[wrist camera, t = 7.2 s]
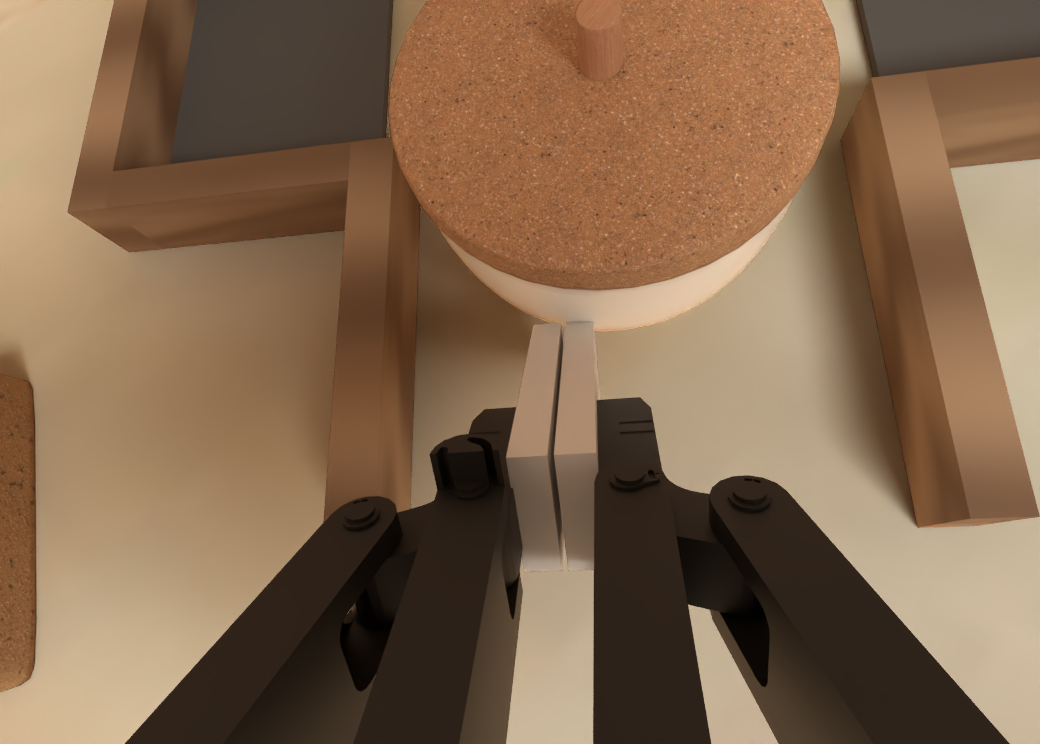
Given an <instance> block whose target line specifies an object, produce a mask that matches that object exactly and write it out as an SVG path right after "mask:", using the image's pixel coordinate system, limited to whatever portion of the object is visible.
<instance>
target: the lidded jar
mask: <svg viewBox="0 0 1040 744" xmlns="http://www.w3.org/2000/svg"><path fill="white" fill-rule="evenodd" d="M839 89H840V56H839V52H838V47H837V42H836V37H835V33H834V28H833V26H832V23H831V21H830V19H829V16H828V14H827V12H826V9H825V7H824V5H823V2H822V0H428V1H427V3H426V4H425V5H424V6H423V8H422V9H421V11H420V13H419V14H418V16H417V17H416V19H415V21H414V22H413V24H412V25H411V27H410V29H409V30H408V32H407V35H406V37H405V40H404V42H403V45H402V47H401V50H400V52H399V55H398V57H397V59H396V63H395V67H394V71H393V76H392V80H391V84H390V91H389V111H388V117H389V125H390V132H391V140H392V144H393V147H394V150H395V153H396V156H397V159H398V162H399V165H400V168H401V171H402V172H403V174H404V176H405V178H406V180H407V182H408V183H409V185H410V187H411V189H412V191H413V192H414V194H415V196H416V198H417V199H418V201H419V203H420V205H421V206H422V208H423V209H424V210H425V212H426V213H427V214H428V215H429V216H430V218H431V219H432V220H433V221H434V222H435V224H436V225H437V226H438V227H439V229H440V231H441V233H442V234H443V236H444V237H445V239H446V240H447V242H448V243H449V245H450V247H451V248H452V249H453V250H454V251H455V253H456V254H457V255H458V256H459V257H460V259H461V260H462V261H463V262H464V263H465V264H466V266H467V267H468V268H469V269H470V270H471V271H472V272H473V273H474V275H475V276H476V277H477V278H478V279H479V280H480V281H482V282H483V283H484V284H485V285H486V286H488V287H489V288H490V289H491V290H492V291H493V292H495V293H496V294H497V295H498V296H500V297H501V298H503V299H504V300H505V301H507V302H508V303H510V304H512V305H513V306H515V307H517V308H519V309H520V310H522V311H524V312H525V313H527V314H529V315H531V316H534V317H536V318H539V319H541V320H544V321H547V322H549V323H561V326H565V323H566V322H594V331H615V330H629V329H635V328H639V327H644V326H648V325H653V324H657V323H660V322H663V321H665V320H668V319H671V318H673V317H676V316H679V315H681V314H684V313H685V312H687V311H689V310H691V309H693V308H694V307H696V306H698V305H700V304H701V303H703V302H705V301H707V300H708V299H709V298H711V297H712V296H713V295H714V294H716V293H717V292H718V291H720V290H721V289H722V288H723V287H725V286H726V285H727V284H728V283H729V282H731V281H732V280H733V279H734V278H735V277H736V276H738V275H739V274H740V272H741V271H742V270H743V269H744V268H745V267H746V266H747V265H748V264H749V263H750V262H751V261H752V259H753V258H754V257H755V256H756V255H757V254H758V253H759V251H760V250H761V249H762V247H763V246H764V245H765V243H766V242H767V241H768V239H769V238H770V236H771V235H772V233H773V232H774V230H775V229H776V227H777V226H778V224H779V222H780V221H781V219H782V218H783V216H784V215H785V213H786V211H787V209H788V207H789V205H790V203H791V201H792V200H793V198H794V196H795V194H796V192H797V191H798V189H799V188H800V186H801V185H802V183H803V181H804V180H805V178H806V177H807V175H808V174H809V172H810V171H811V169H812V168H813V166H814V164H815V162H816V160H817V157H818V155H819V153H820V150H821V148H822V145H823V143H824V141H825V138H826V136H827V133H828V131H829V129H830V126H831V124H832V121H833V119H834V114H835V109H836V104H837V99H838V94H839Z"/></svg>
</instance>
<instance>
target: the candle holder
mask: <svg viewBox="0 0 1040 744" xmlns="http://www.w3.org/2000/svg"><path fill="white" fill-rule="evenodd" d="M35 629H36V572H35V432H34V410H33V394H32V389H31V386H30V384H29V382H26V381H22V380H19V379H16V378H13V377H9V376H6V375H3V374H0V692H2V691H5V690H8V689H11V688H14V687H17V686H20V685H22V684H23V683H24V682H26V681H27V680H28V679H30V677H31V673H32V670H33V667H34V652H35Z"/></svg>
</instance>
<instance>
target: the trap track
mask: <svg viewBox="0 0 1040 744" xmlns="http://www.w3.org/2000/svg"><path fill="white" fill-rule="evenodd" d="M856 2H857V7H858V11H859V15H860V20H861V24H862V29H863V33H864V37H865V42H866V46H867V51H868V55H869V59H870V64H871V68H872V73H873V78H871V79H870V81H869V83H868V85H867V87H866V89H865V91H864V93H863V95H862V98H861V100H860V102H859V104H858V106H857V108H856V110H855V112H854V114H853V116H852V118H851V120H850V122H849V124H848V126H847V128H846V130H845V132H844V134H843V136H842V139H841V141H840V142H841V147H842V152H843V157H844V162H845V167H846V172H847V177H848V182H849V187H850V192H851V197H852V202H853V206H854V211H855V216H856V221H857V226H858V231H859V236H860V241H861V246H862V251H863V256H864V261H865V266H866V271H867V276H868V281H869V286H870V291H871V296H872V301H873V306H874V311H875V316H876V321H877V326H878V331H879V336H880V341H881V346H882V351H883V356H884V361H885V366H886V371H887V376H888V381H889V386H890V391H891V396H892V401H893V406H894V411H895V416H896V421H897V426H898V431H899V436H900V441H901V446H902V451H903V456H904V461H905V466H906V471H907V476H908V481H909V486H910V491H911V496H912V501H913V506H914V511H915V516H916V521H917V526H918V527H953V526H978V525H985V524H992V523H999V522H1006V521H1013V520H1020V519H1027V518H1034V517H1040V516H1039V512H1038V508H1037V504H1036V501H1035V497H1034V493H1033V489H1032V485H1031V481H1030V477H1029V473H1028V469H1027V466H1026V462H1025V458H1024V454H1023V450H1022V446H1021V442H1020V438H1019V435H1018V431H1017V427H1016V423H1015V419H1014V415H1013V411H1012V407H1011V404H1010V400H1009V396H1008V392H1007V388H1006V384H1005V380H1004V376H1003V372H1002V369H1001V365H1000V361H999V357H998V353H997V349H996V345H995V341H994V338H993V334H992V330H991V326H990V322H989V318H988V314H987V310H986V306H985V303H984V299H983V295H982V291H981V287H980V283H979V279H978V275H977V272H976V268H975V264H974V260H973V256H972V252H971V248H970V244H969V241H968V237H967V233H966V229H965V225H964V221H963V217H962V213H961V209H960V206H959V202H958V198H957V194H956V190H955V186H954V182H953V178H952V175H951V171H950V168H954V167H963V166H973V165H983V164H993V163H1002V162H1012V161H1022V160H1032V159H1040V0H856ZM392 8H393V0H114V4H113V9H112V13H111V18H110V22H109V27H108V31H107V36H106V40H105V45H104V49H103V54H102V58H101V63H100V67H99V72H98V76H97V81H96V85H95V90H94V95H93V99H92V104H91V108H90V113H89V117H88V122H87V126H86V131H85V135H84V140H83V144H82V149H81V153H80V158H79V162H78V167H77V171H76V176H75V180H74V185H73V189H72V194H71V198H70V203H69V207H68V213H69V214H71V215H72V216H74V217H75V218H77V219H79V220H80V221H82V222H83V223H85V224H86V225H88V226H89V227H91V228H92V229H94V230H96V231H97V232H99V233H100V234H102V235H103V236H105V237H106V238H108V239H109V240H111V241H113V242H114V243H116V244H117V245H119V246H120V247H122V248H123V249H125V250H126V251H128V252H136V251H145V250H155V249H165V248H175V247H184V246H194V245H204V244H214V243H223V242H233V241H243V240H253V239H262V238H272V237H282V236H292V235H301V234H311V233H321V232H330V231H340V230H345V233H344V247H343V260H342V274H341V288H340V302H339V316H338V330H337V344H336V358H335V371H334V385H333V399H332V413H331V427H330V441H329V455H328V469H327V482H326V496H325V510H324V522H325V521H326V520H327V519H328V517H329V516H330V515H331V514H332V513H333V512H335V511H336V510H337V509H338V508H339V507H341V506H342V505H344V504H346V503H348V502H350V501H352V500H355V499H358V498H362V497H367V496H381V497H384V498H388V499H390V500H391V501H392V502H393V503H394V504H395V505H396V508H397V512H401V511H405V510H409V509H410V502H411V471H412V440H413V409H414V378H415V348H416V317H417V286H418V255H419V224H420V203H419V201H418V199H417V198H416V196H415V194H414V192H413V191H412V189H411V187H410V185H409V183H408V182H407V180H406V178H405V176H404V174H403V172H402V171H401V168H400V165H399V162H398V159H397V156H396V153H395V150H394V147H393V144H392V140H391V137H387V138H386V122H387V103H388V84H389V65H390V46H391V27H392Z"/></svg>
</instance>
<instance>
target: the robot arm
mask: <svg viewBox="0 0 1040 744" xmlns="http://www.w3.org/2000/svg"><path fill="white" fill-rule="evenodd" d="M430 458H431V463H432V467H433V472H434V476H435V481H436V485H437V490H438V491H437V494H436V497H435V500H434V501H432V502H430V503H428V504H426V505H423V506H420V507H417V508H413V509H409V510H405V511H401V512H397V508H396V505H395V504H394V503H393V502H392V501H391V500H390V499H388V498H384V497H381V496H367V497H362V498H358V499H355V500H352V501H350V502H348V503H346V504H344V505H342V506H341V507H339V508H338V509H337V510H336V511H335V512H333V513H332V514H331V515H330V516H329V517H328V519H327V520H326V521H325V522H324V523H323V524H322V525H321V526H320V527H319V529H318V530H317V531H316V532H315V533H314V534H313V535H312V536H311V537H310V539H309V540H308V541H307V542H306V543H305V544H304V545H303V546H302V547H301V549H300V550H299V551H298V552H297V553H296V554H295V555H294V556H293V557H292V559H291V560H290V561H289V562H288V563H287V564H286V565H285V566H284V567H283V569H282V570H281V571H280V572H279V573H278V574H277V575H276V576H275V577H274V579H273V580H272V581H271V582H270V583H269V584H268V585H267V586H266V587H265V589H264V590H263V591H262V592H261V593H260V594H259V595H258V596H257V597H256V599H255V600H254V601H253V602H252V603H251V604H250V605H249V606H248V607H247V609H246V610H245V611H244V612H243V613H242V614H241V615H240V616H239V617H238V619H237V620H236V621H235V622H234V623H233V624H232V625H231V626H230V627H229V629H228V630H227V631H226V632H225V633H224V634H223V635H222V636H221V637H220V639H219V640H218V641H217V642H216V643H215V644H214V645H213V646H212V647H211V649H210V650H209V651H208V652H207V653H206V654H205V655H204V656H203V657H202V659H201V660H200V661H199V662H198V663H197V664H196V665H195V666H194V667H193V669H192V670H191V671H190V672H189V673H188V674H187V675H186V676H185V677H184V679H183V680H182V681H181V682H180V683H179V684H178V685H177V686H176V687H175V689H174V690H173V691H172V692H171V693H170V694H169V695H168V696H167V697H166V699H165V700H164V701H163V702H162V703H161V704H160V705H159V706H158V707H157V709H156V710H155V711H154V712H153V713H152V714H151V715H150V716H149V717H148V719H147V720H146V721H145V722H144V723H143V724H142V725H141V726H140V727H139V729H138V730H137V731H136V732H135V733H134V734H133V735H132V736H131V737H130V739H129V740H128V741H127V742H126V743H125V744H506V738H507V729H508V720H509V711H510V702H511V693H512V684H513V675H514V666H515V657H516V648H517V639H518V630H519V620H520V611H521V602H522V593H523V590H522V584H521V578H520V572H519V571H520V564H521V556H522V559H523V565H524V572H543V571H562V565H563V546H564V540H565V547H566V555H567V563H568V571H575V570H594V706H593V744H711V739H710V734H709V728H708V722H707V716H706V710H705V704H704V698H703V692H702V686H701V680H700V674H699V668H698V662H697V656H696V650H695V644H694V638H693V632H692V626H691V620H690V615H689V609H688V604H689V605H693V606H697V607H701V608H706V609H710V612H711V616H712V619H713V621H714V623H715V625H716V627H717V629H718V631H719V633H720V634H721V636H722V638H723V640H724V642H725V644H726V646H727V648H728V649H729V651H730V653H731V655H732V657H733V659H734V661H735V663H736V664H737V666H738V668H739V670H740V672H741V674H742V676H743V678H744V679H745V681H746V683H747V685H748V687H749V689H750V691H751V693H752V694H753V696H754V698H755V700H756V702H757V704H758V706H759V708H760V709H761V711H762V713H763V715H764V717H765V719H766V721H767V723H768V724H769V726H770V728H771V730H772V732H773V734H774V736H775V738H776V739H777V741H778V743H779V744H1009V742H1008V741H1007V740H1006V739H1005V738H1004V737H1003V736H1002V735H1001V733H1000V732H999V731H998V730H997V729H996V728H995V727H994V725H993V724H992V723H991V722H990V721H989V720H988V719H987V718H986V716H985V715H984V714H983V713H982V712H981V711H980V710H979V708H978V707H977V706H976V705H975V704H974V703H973V702H972V701H971V699H970V698H969V697H968V696H967V695H966V694H965V693H964V691H963V690H962V689H961V688H960V687H959V686H958V685H957V684H956V682H955V681H954V680H953V679H952V678H951V677H950V676H949V674H948V673H947V672H946V671H945V670H944V669H943V668H942V667H941V665H940V664H939V663H938V662H937V661H936V660H935V659H934V657H933V656H932V655H931V654H930V653H929V652H928V651H927V650H926V648H925V647H924V646H923V645H922V644H921V643H920V642H919V640H918V639H917V638H916V637H915V636H914V635H913V634H912V633H911V631H910V630H909V629H908V628H907V627H906V626H905V625H904V623H903V622H902V621H901V620H900V619H899V618H898V617H897V615H896V614H895V613H894V612H893V611H892V610H891V609H890V608H889V606H888V605H887V604H886V603H885V602H884V601H883V600H882V598H881V597H880V596H879V595H878V594H877V593H876V592H875V591H874V589H873V588H872V587H871V586H870V585H869V584H868V583H867V581H866V580H865V579H864V578H863V577H862V576H861V575H860V574H859V572H858V571H857V570H856V569H855V568H854V567H853V566H852V564H851V563H850V562H849V561H848V560H847V559H846V558H845V557H844V555H843V554H842V553H841V552H840V551H839V550H838V549H837V547H836V546H835V545H834V544H833V543H832V542H831V541H830V540H829V538H828V537H827V536H826V535H825V534H824V533H823V532H822V530H821V529H820V528H819V527H818V526H817V525H816V524H815V523H814V521H813V520H812V519H811V518H810V517H809V516H808V515H807V513H806V512H805V511H804V510H803V509H802V508H801V507H800V506H799V504H798V503H797V502H796V501H795V500H794V499H793V498H792V496H791V495H790V494H789V493H788V492H787V491H786V490H785V489H784V488H782V487H781V486H780V485H778V484H777V483H775V482H772V481H770V480H767V479H765V478H761V477H755V476H734V477H730V478H727V479H724V480H721V481H719V482H718V483H717V484H716V485H715V486H713V487H712V489H711V492H710V494H705V493H699V492H694V491H690V490H686V489H684V488H681V487H679V486H676V485H675V484H673V483H672V482H670V481H669V480H668V479H667V478H666V476H665V474H664V472H663V471H662V467H661V462H660V456H659V451H658V445H657V439H656V434H655V428H654V422H653V417H652V411H651V407H650V406H649V405H647V404H646V403H645V402H644V401H643V400H642V399H641V398H640V397H638V398H623V399H609V400H600V389H599V378H598V366H597V355H596V343H595V331H594V322H566V323H565V334H564V346H563V336H562V327H561V323H550V324H539V325H533V329H532V334H531V339H530V344H529V349H528V354H527V358H526V363H525V368H524V373H523V378H522V383H521V387H520V392H519V397H518V402H517V407H514V408H499V409H485V410H484V411H483V412H482V413H480V414H479V415H478V416H477V417H476V418H475V419H474V420H473V422H472V425H471V428H470V431H469V434H465V435H459V436H455V437H452V438H450V439H447V440H444V441H443V442H441V443H440V444H438V445H437V446H436V447H435V448H434V449H433V450H432V452H431V453H430ZM350 609H351V610H350ZM349 610H350V611H349ZM347 613H348V614H347Z"/></svg>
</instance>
